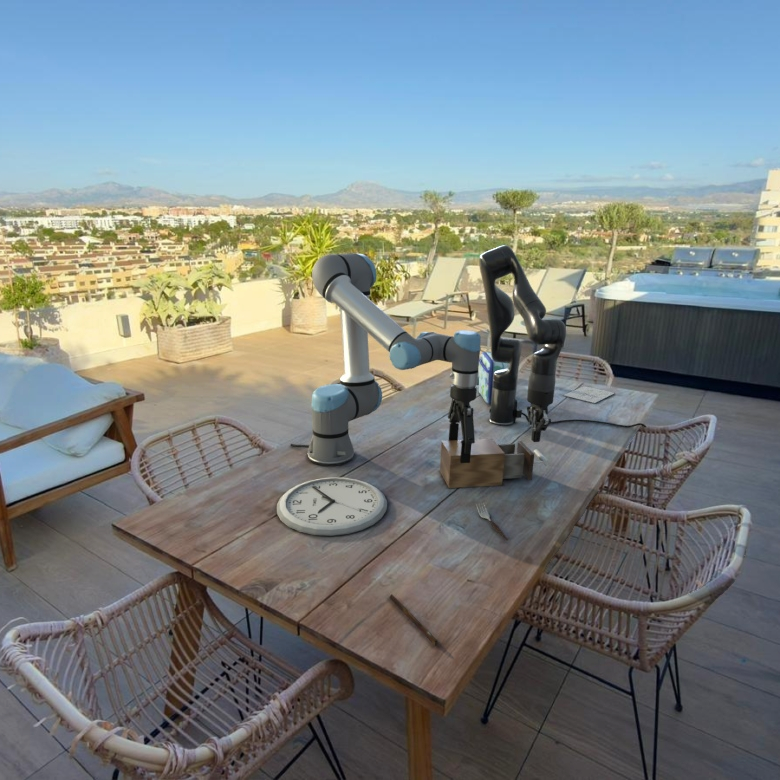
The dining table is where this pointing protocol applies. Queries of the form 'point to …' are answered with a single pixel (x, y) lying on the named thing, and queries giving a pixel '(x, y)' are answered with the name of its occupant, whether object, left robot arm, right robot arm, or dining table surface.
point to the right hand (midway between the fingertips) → (535, 441)
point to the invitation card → (589, 394)
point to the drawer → (520, 460)
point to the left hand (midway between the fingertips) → (458, 452)
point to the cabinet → (472, 464)
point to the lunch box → (488, 375)
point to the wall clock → (331, 506)
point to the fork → (487, 516)
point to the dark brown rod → (413, 619)
